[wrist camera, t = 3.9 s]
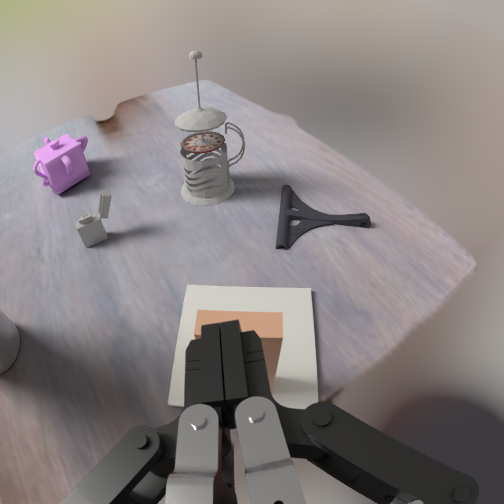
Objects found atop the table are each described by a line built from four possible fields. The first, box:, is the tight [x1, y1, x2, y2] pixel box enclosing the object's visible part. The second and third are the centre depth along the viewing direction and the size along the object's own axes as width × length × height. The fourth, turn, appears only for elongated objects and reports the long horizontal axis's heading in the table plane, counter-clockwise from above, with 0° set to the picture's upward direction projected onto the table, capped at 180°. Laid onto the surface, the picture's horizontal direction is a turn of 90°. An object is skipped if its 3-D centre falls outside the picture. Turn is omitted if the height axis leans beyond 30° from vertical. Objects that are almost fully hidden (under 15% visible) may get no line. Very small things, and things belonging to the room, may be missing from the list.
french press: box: [175, 51, 245, 206], centre depth 46 cm, size 10×12×25 cm
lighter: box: [75, 190, 111, 248], centre depth 44 cm, size 7×2×8 cm, turn 121°
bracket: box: [276, 185, 371, 250], centre depth 49 cm, size 14×15×3 cm
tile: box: [194, 310, 283, 394], centre depth 26 cm, size 6×2×14 cm, turn 88°
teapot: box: [33, 134, 91, 195], centre depth 56 cm, size 18×14×10 cm
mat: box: [168, 285, 318, 409], centre depth 35 cm, size 16×16×1 cm
